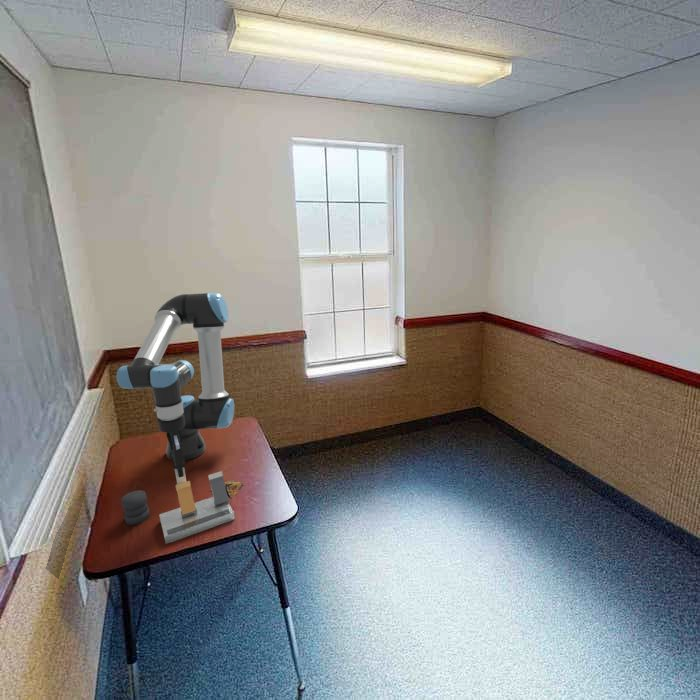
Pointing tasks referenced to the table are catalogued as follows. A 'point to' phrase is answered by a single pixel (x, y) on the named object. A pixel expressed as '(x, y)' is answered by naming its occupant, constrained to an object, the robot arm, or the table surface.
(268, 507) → the table surface
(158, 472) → the table surface
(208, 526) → the panel
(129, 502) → the grey stacked discs
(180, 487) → the paddle orange
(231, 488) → the butterfly model
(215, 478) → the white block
